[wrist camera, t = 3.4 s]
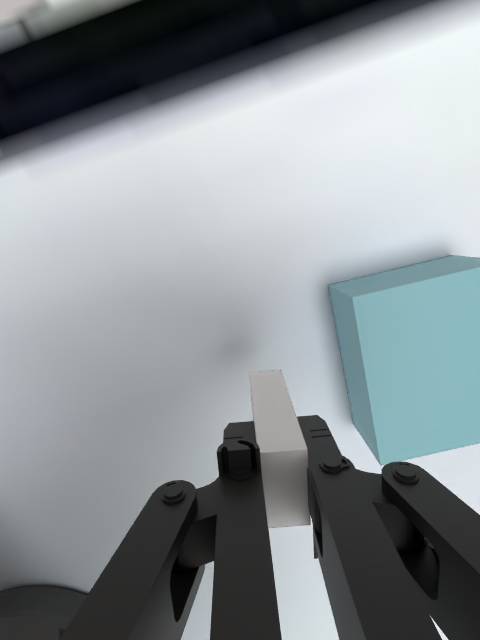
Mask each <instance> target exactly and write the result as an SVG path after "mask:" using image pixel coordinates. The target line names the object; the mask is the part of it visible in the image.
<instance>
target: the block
mask: <svg viewBox="0 0 480 640" xmlns="http://www.w3.org/2000/svg"><path fill="white" fill-rule="evenodd" d="M328 288H329V294H330V299H331V304H332V310H333V315H334V321H335V326H336V332H337V337H338V343H339V348H340V354H341V359H342V364H343V370H344V375H345V381H346V386H347V392H348V397H349V403H350V408H351V414H352V419H353V424H354V426H355V427H356V429H357V430H358V432H359V433H360V435H361V436H362V438H363V439H364V441H365V442H366V444H367V445H368V447H369V448H370V450H371V451H372V453H373V454H374V456H375V458H376V459H377V461H378V462H379V464H380V465H385V464H389V463H391V462H398V461H403V460H407V459H412V458H416V457H420V456H425V455H429V454H434V453H438V452H443V451H447V450H451V449H456V448H460V447H465V446H469V445H474V444H478V443H480V258H476V257H465V256H454V255H451V256H447V257H443V258H439V259H435V260H430V261H426V262H422V263H418V264H414V265H410V266H405V267H401V268H397V269H393V270H389V271H385V272H380V273H376V274H372V275H368V276H364V277H360V278H355V279H351V280H347V281H343V282H339V283H335V284H330V285H328Z"/></svg>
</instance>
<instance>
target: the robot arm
mask: <svg viewBox="0 0 480 640" xmlns="http://www.w3.org/2000/svg"><path fill="white" fill-rule="evenodd" d="M249 376H250V388H251V401H252V414H253V421H249V422H237V423H229V424H228V426H227V427H226V428H225V430H224V440H223V444H221V445H220V446H219V447H218V450H217V459H218V469H219V477H218V478H217V479H216V480H215V481H214V482H212V483H211V484H209V485H207V486H204V487H201V488H198V489H195V487H194V485H193V484H191V483H190V482H187V481H183V480H177V481H171V482H168V483H165V484H163V485H162V486H160V487H158V488H157V489H156V490H155V491H154V493H153V494H152V495H151V497H150V499H149V500H148V502H147V503H146V505H145V506H144V508H143V510H142V511H141V513H140V514H139V516H138V517H137V519H136V520H135V522H134V524H133V525H132V527H131V528H130V530H129V531H128V533H127V535H126V536H125V538H124V539H123V541H122V542H121V544H120V546H119V547H118V549H117V550H116V552H115V553H114V555H113V556H112V558H111V560H110V561H109V563H108V564H107V566H106V567H105V569H104V571H103V572H102V574H101V575H100V577H99V578H98V580H97V581H96V583H95V585H94V586H93V588H92V589H91V591H90V592H89V594H88V596H87V595H84V594H82V593H79V592H75V591H72V590H68V589H63V588H57V587H47V586H30V587H20V588H15V589H10V590H6V591H3V592H0V640H181V637H182V634H183V631H184V628H185V625H186V622H187V619H188V617H189V614H190V611H191V608H192V605H193V602H194V599H195V596H196V594H197V591H198V588H199V585H200V582H201V579H202V576H203V573H204V570H205V564H207V563H209V562H212V561H214V578H213V596H212V614H211V632H210V640H282V639H281V631H280V622H279V614H278V606H277V597H276V589H275V581H274V572H273V564H272V556H271V547H270V539H269V530H268V528H277V527H289V526H302V525H310V515H311V518H312V522H313V539H314V559H316V558H319V562H320V566H321V569H322V573H323V577H324V581H325V585H326V589H327V593H328V597H329V601H330V605H331V609H332V612H333V616H334V620H335V624H336V628H337V632H338V636H339V640H442V639H441V637H440V635H439V633H438V631H437V629H436V627H435V625H434V623H433V621H432V619H431V617H432V618H433V620H434V621H435V622H436V624H437V625H438V626H439V628H440V629H441V630H442V632H443V633H444V634H445V635H446V637H447V638H448V639H449V640H480V515H479V514H478V513H476V512H475V511H474V510H473V509H472V508H470V507H469V506H468V505H467V504H465V503H464V502H463V501H462V500H461V499H459V498H458V497H457V496H456V495H455V494H453V493H452V492H451V491H450V490H448V489H447V488H446V487H445V486H444V485H442V484H441V483H440V482H439V481H437V480H436V479H435V478H434V477H433V476H431V475H430V474H429V473H428V472H426V471H425V470H424V469H422V468H421V467H419V466H417V465H414V464H411V463H408V462H400V461H399V462H391V463H389V464H386V465H385V466H384V467H383V468H382V474H376V473H368V472H364V471H360V470H357V469H355V467H354V465H353V464H352V462H351V461H350V460H349V459H347V458H346V457H344V456H342V455H341V453H340V451H339V449H338V447H337V444H336V442H335V440H334V438H333V436H332V434H331V432H330V430H329V428H328V426H327V424H326V422H325V421H324V420H323V419H322V418H320V417H319V416H318V415H312V416H300V417H296V414H295V411H294V408H293V405H292V402H291V399H290V396H289V393H288V390H287V387H286V384H285V381H284V378H283V375H282V372H281V370H272V371H260V372H249ZM430 616H431V617H430Z"/></svg>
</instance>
